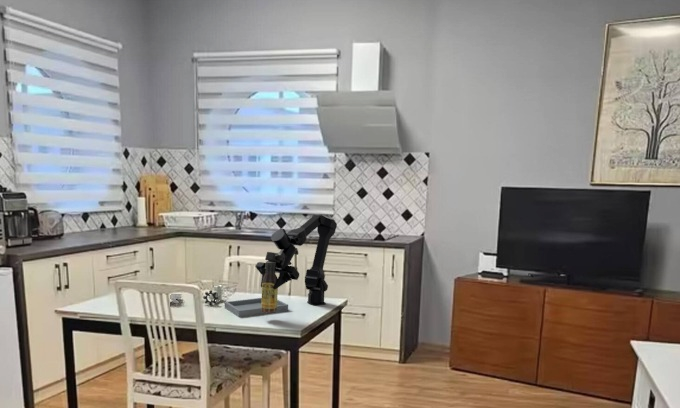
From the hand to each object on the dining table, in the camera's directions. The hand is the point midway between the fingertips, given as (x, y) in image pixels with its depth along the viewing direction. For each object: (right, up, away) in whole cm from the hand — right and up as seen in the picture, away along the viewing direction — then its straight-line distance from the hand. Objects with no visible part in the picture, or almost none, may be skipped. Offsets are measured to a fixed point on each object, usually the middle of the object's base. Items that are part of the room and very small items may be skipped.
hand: (267, 288), depth 197 cm
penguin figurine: (-46, -11, +28) cm, 55 cm away
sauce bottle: (+1, -10, +2) cm, 10 cm away
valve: (-28, -11, +29) cm, 42 cm away
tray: (-8, -12, +18) cm, 23 cm away
